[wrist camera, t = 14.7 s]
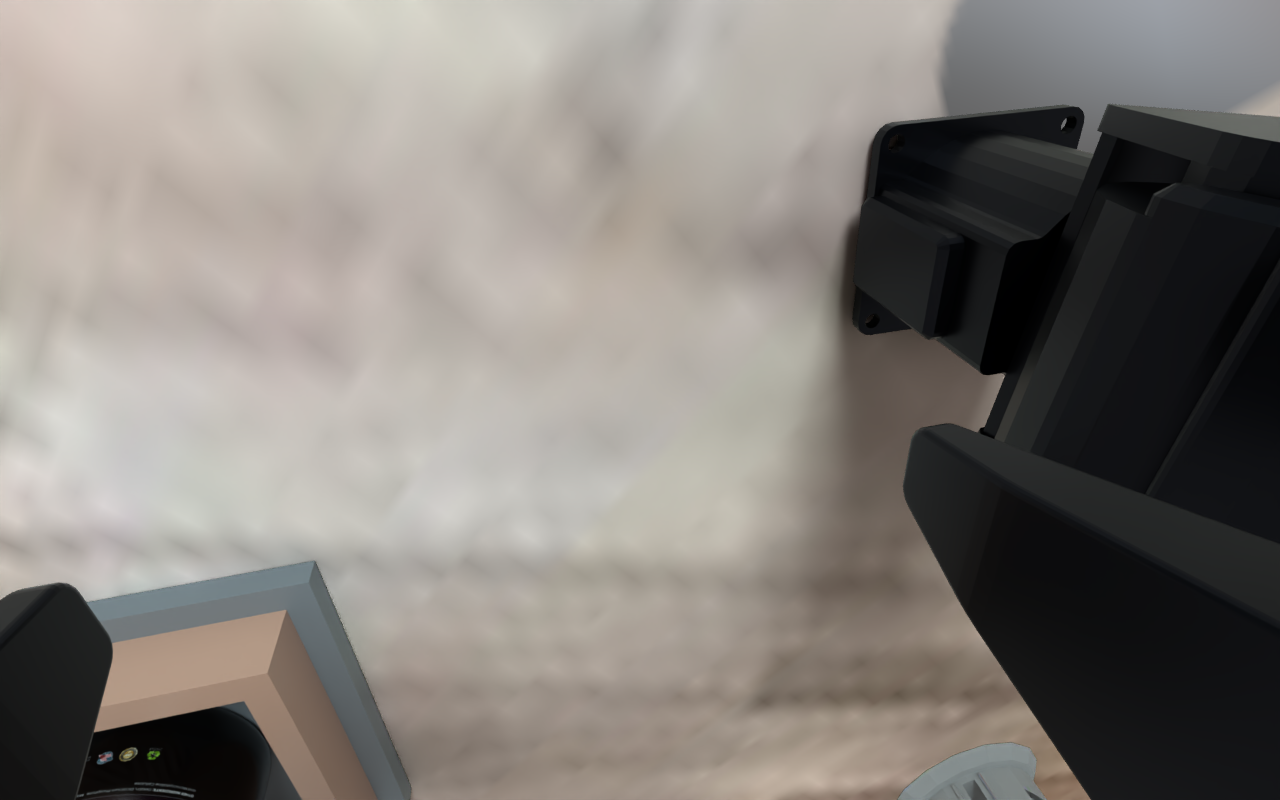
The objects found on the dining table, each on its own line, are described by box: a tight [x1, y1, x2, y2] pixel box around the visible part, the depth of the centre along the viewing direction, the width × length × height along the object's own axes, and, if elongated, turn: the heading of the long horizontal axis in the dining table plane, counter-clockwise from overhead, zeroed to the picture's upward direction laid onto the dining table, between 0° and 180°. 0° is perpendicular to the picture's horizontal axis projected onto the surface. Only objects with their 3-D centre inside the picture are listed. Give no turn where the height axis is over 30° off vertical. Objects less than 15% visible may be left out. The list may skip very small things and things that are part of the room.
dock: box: [86, 561, 411, 800], centre depth 24 cm, size 14×14×4 cm
